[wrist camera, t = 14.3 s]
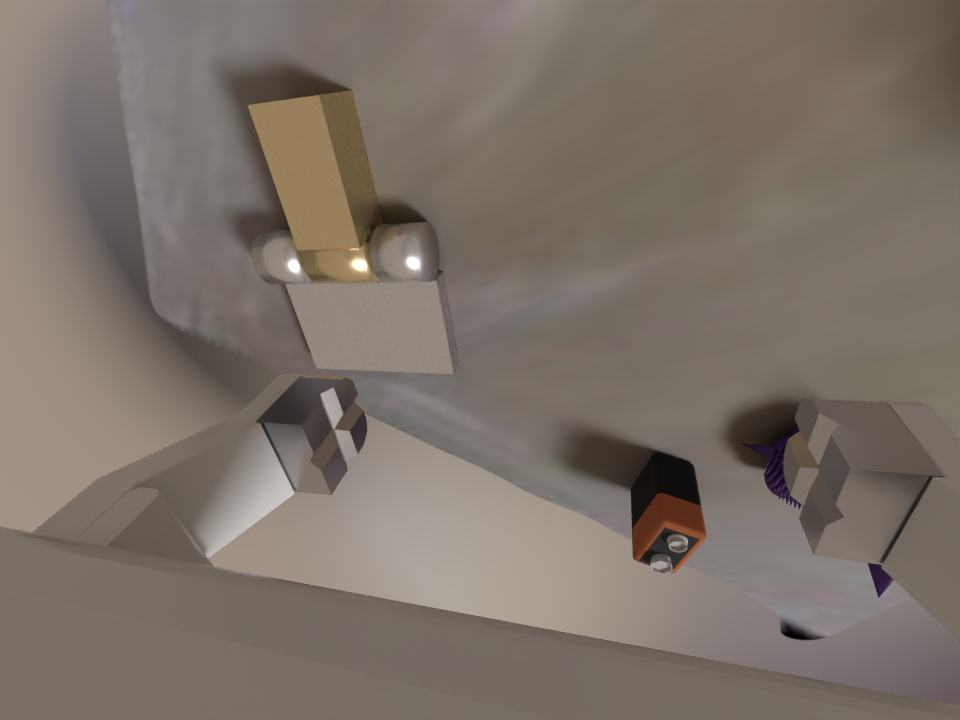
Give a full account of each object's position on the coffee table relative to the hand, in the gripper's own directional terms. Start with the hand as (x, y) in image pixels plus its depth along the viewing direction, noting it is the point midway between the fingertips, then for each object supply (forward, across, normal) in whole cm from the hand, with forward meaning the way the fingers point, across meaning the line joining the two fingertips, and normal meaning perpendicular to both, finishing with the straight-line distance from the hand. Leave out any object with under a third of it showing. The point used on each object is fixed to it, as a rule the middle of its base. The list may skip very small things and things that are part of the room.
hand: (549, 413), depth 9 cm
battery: (+31, -7, +34) cm, 47 cm away
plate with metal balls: (+31, +22, +12) cm, 40 cm away
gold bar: (+31, +22, +2) cm, 38 cm away
